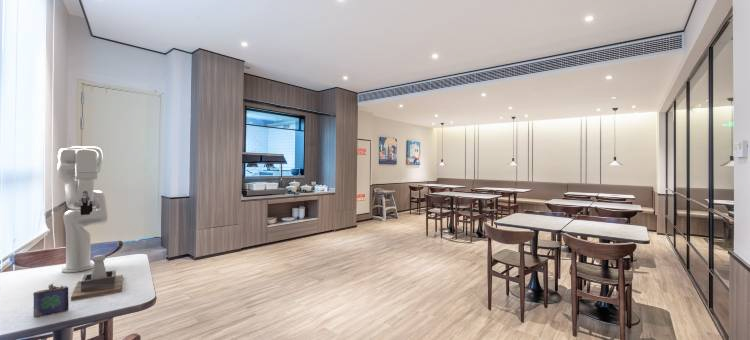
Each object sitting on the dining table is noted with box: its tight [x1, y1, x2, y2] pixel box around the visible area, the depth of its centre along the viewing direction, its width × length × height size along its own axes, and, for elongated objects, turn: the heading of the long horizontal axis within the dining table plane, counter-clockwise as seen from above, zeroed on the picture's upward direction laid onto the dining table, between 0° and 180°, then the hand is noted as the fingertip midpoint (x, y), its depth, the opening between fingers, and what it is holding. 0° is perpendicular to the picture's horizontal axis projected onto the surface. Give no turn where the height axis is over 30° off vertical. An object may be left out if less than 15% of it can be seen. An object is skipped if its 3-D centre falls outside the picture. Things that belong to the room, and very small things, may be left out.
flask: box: [33, 283, 70, 318], centre depth 120 cm, size 9×3×11 cm, turn 129°
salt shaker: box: [91, 254, 107, 280], centre depth 145 cm, size 6×6×13 cm
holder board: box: [70, 269, 124, 302], centre depth 145 cm, size 22×16×6 cm
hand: (86, 213), depth 151 cm, fingers open, 9 cm apart
